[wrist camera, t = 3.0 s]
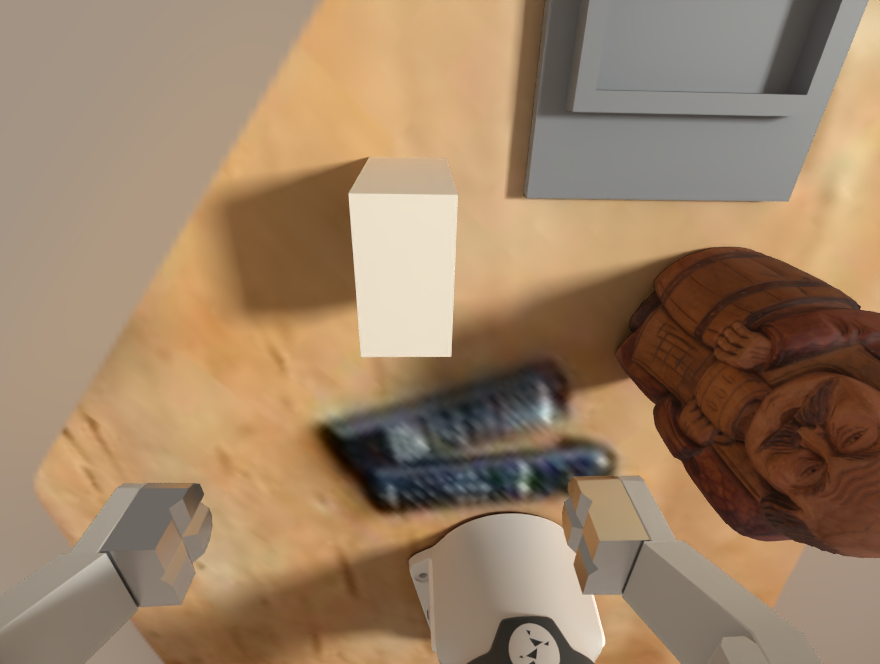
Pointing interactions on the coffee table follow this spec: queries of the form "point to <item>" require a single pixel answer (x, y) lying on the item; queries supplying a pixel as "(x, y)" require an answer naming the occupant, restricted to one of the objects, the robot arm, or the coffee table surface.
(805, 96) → the display base
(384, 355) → the product carton
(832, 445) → the wooden figurine
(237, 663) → the coffee table surface
